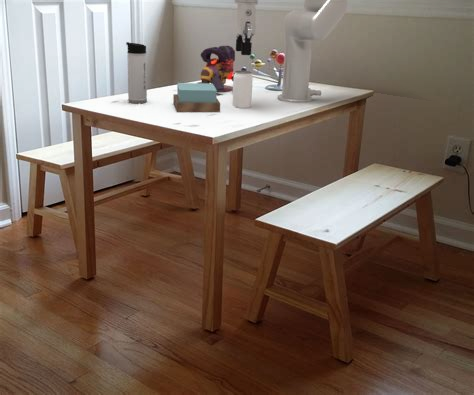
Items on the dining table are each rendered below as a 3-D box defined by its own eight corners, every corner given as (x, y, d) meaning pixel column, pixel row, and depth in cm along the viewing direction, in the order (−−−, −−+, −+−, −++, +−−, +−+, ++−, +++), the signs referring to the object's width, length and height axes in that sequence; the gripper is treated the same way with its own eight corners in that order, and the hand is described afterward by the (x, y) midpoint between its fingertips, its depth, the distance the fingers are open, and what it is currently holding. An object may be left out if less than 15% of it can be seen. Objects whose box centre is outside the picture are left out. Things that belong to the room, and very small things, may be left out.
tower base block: (213, 105, 219) (214, 94, 217) (219, 115, 206) (220, 103, 205) (173, 105, 216) (173, 94, 215) (177, 115, 203) (177, 103, 202)
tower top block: (212, 95, 216) (212, 83, 215) (216, 102, 205) (216, 90, 203) (177, 94, 214) (177, 83, 213) (179, 102, 203) (179, 90, 202)
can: (249, 109, 212) (251, 74, 208) (230, 108, 213) (231, 72, 209) (252, 105, 218) (254, 71, 214) (234, 104, 219) (235, 69, 215)
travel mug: (125, 100, 218) (124, 41, 211) (144, 99, 220) (143, 41, 213) (129, 104, 213) (128, 43, 206) (148, 103, 215) (148, 43, 208)
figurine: (218, 97, 230) (220, 50, 224) (188, 91, 237) (188, 46, 231) (246, 89, 246) (248, 46, 240) (217, 84, 253) (218, 42, 247)
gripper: (263, 1, 196) (259, 57, 202) (252, -2, 212) (248, 50, 218) (239, 0, 195) (236, 56, 200) (230, -3, 210) (227, 49, 216)
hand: (243, 53), depth 209 cm, fingers open, 9 cm apart
